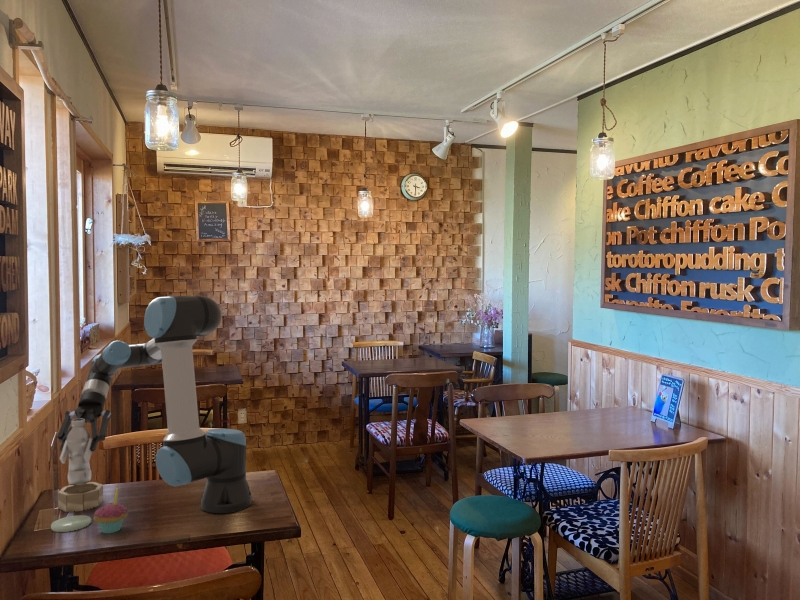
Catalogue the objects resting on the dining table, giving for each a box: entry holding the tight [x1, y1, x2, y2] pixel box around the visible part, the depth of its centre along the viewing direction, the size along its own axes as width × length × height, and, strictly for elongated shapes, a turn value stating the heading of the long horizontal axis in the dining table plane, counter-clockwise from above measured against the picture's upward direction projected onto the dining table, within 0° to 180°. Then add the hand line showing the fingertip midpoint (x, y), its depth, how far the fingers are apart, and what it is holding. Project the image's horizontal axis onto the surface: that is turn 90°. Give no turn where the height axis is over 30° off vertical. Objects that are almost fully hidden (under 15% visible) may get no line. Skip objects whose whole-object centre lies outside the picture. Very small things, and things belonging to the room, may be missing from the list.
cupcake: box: [92, 485, 129, 534], centre depth 170 cm, size 9×8×12 cm
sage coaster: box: [50, 514, 92, 533], centre depth 174 cm, size 10×10×1 cm
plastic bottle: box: [66, 418, 92, 485], centre depth 189 cm, size 6×7×20 cm
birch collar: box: [57, 481, 104, 513], centre depth 189 cm, size 11×11×5 cm
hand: (74, 460), depth 186 cm, fingers closed on plastic bottle, 6 cm apart
